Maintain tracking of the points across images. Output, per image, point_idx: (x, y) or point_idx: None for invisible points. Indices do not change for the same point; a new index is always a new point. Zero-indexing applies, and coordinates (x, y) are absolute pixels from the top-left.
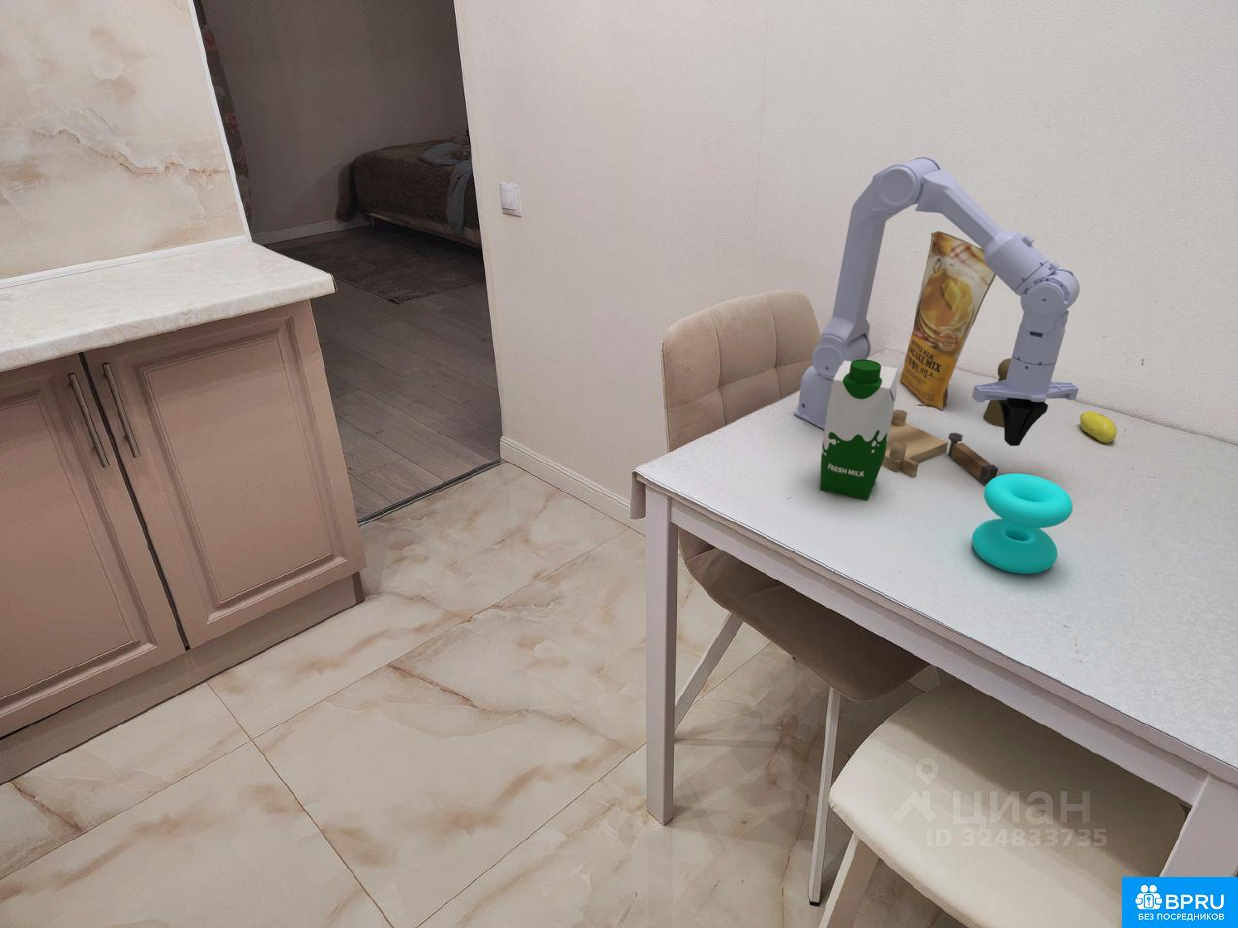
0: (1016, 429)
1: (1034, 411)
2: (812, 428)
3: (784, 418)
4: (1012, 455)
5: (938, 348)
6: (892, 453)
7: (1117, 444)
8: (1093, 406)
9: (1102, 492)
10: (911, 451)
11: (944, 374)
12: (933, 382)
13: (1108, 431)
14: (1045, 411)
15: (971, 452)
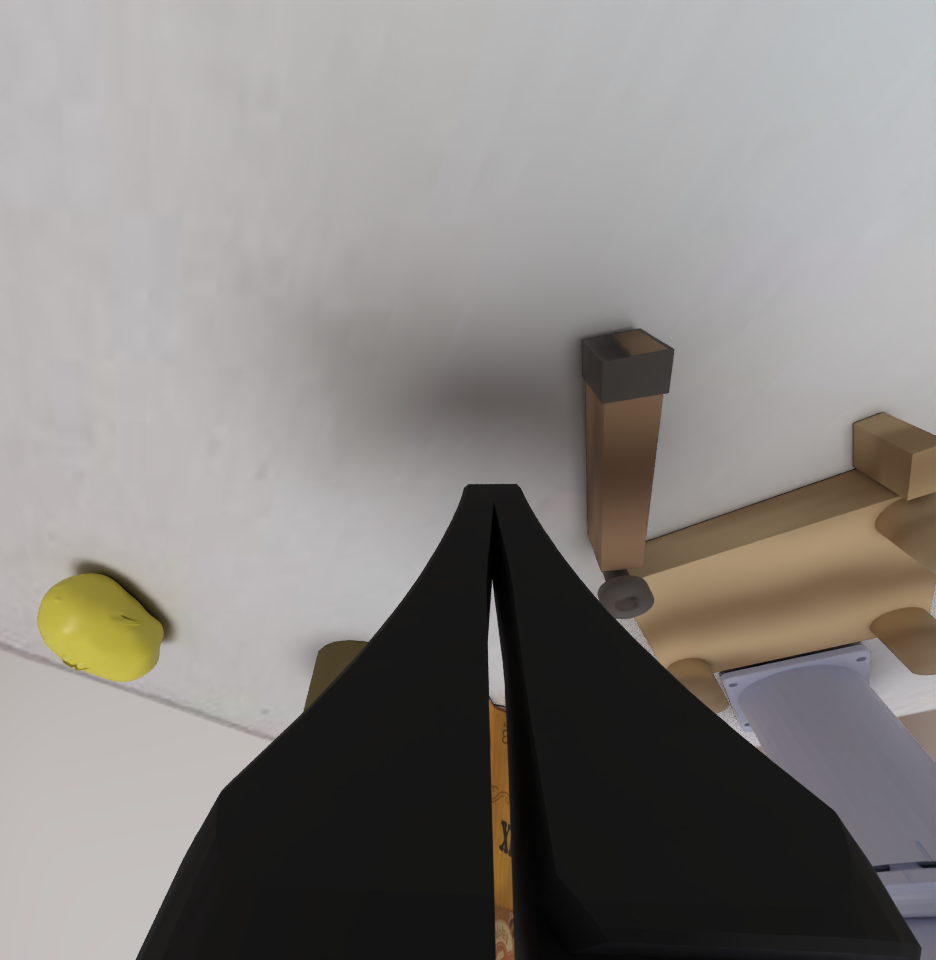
0: (546, 564)
1: (450, 832)
2: (879, 663)
3: (898, 694)
4: (398, 531)
5: (511, 921)
6: None
7: (64, 566)
8: (135, 688)
9: (91, 240)
10: (806, 544)
11: (492, 814)
12: (508, 781)
13: (61, 605)
14: (229, 815)
15: (621, 511)
